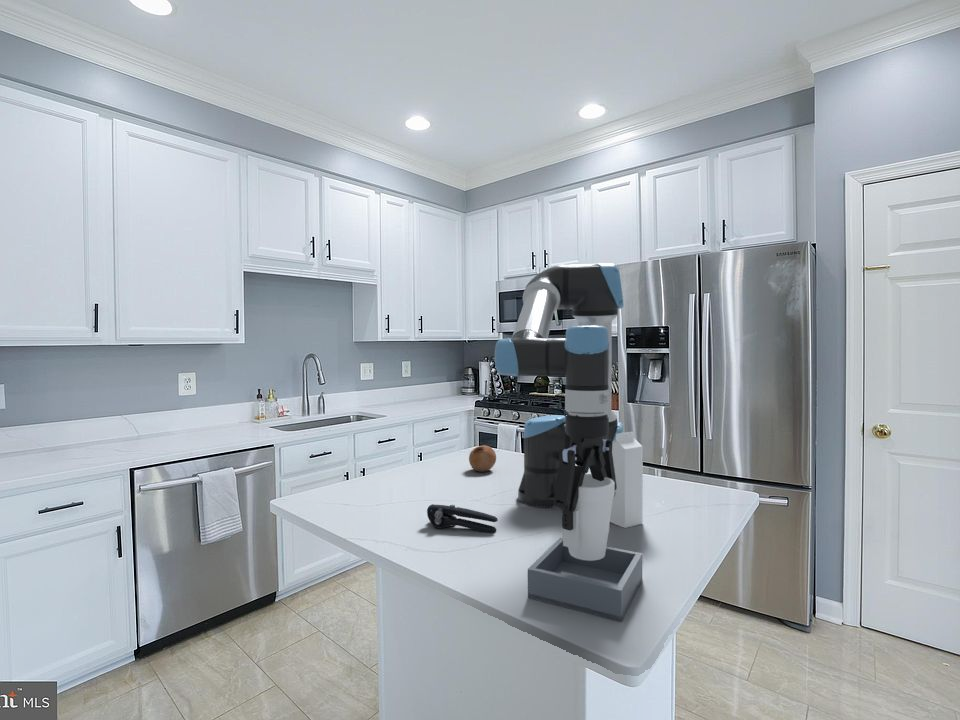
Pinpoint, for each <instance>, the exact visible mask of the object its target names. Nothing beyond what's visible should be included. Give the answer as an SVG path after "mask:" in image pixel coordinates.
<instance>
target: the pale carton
mask: <svg viewBox="0 0 960 720" xmlns="http://www.w3.org/2000/svg"><path fill="white" fill-rule="evenodd" d="M643 453H644V449H643V445H642V444H641V443H640V442H639V441H638V440H637V439H636V438H635V433H634V431H627V432H622V433H618V434H616V440H615V441H613V442H612V456H613V463H614V470H615V478H616V485H617V489H616V490H615V492H616V494H615V496H614V497H613V501H612V509H611V516H610V523H611V524H615V525H617V526H619V527H621V528H624V529H626V528H630V527H634V526H635V527H636V526H639V525H642V524H643V522H644V520H643V519H644V518H643V514H644V513H643V510H644V509H643V507H644V506H643V504H644V503H643V497H644V496H643V495H644V493H643V491H644V490H643V488H644V487H643V486H644V485H643V484H644V480H643V478H644V477H643V476H644V475H643V473H644V472H643V471H644V469H643V464H644V463H643V459H644V457H643V456H644V454H643Z"/></svg>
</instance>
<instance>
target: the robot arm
mask: <svg viewBox="0 0 960 720" xmlns="http://www.w3.org/2000/svg"><path fill="white" fill-rule="evenodd" d="M620 276H621V275H620V269H619V267H618V265H617V264H614V263H605V262H604V263H603V262H602V263H601V262H597V263H582V264H581V263H580V264H579V263H578V264H559V265H554V266H551V267H549V268H547V269H545V270H542V271H541V272H540V273H538V274H536V275H535V276H534V277H533V278H532V279H530V281H529V282H528V283H527V284H526V286H525V288H524V290H523V294H522V303H523V305H522V308H521V311H520V314H519V316H518V319H517V321H516V325H515V327H514V331H513V334H512V335H511V337H507V338H501V339H498V340H497V341H496V343H495V347H494V364H495V370H496V372H497V373H498V374H499V375H501V376H510V377H511V376H513V377H565V389H564V392H565V393H564V395H565V397H564V399H565V400H564V410H565V412H567V414H566V415H563V414H559V415H558V414H552V415H551V414H550V415H544V416H537V417H533V418H530V419H528V420H527V421H526V422H525V423H524V429H523V435H522V436H523V437H522V438H523V444H524V445H523V468H524V469H523V474H522V477H521V479H520V480H521V481H520V484H519V487H518V489H517V490H518V491H517V499H518V501H519V502H520V503H522V504H523V505H524V504H525V505H528V506H531V507H538V508H557V509H558V510H559V509H560V510H561V513H562V514H561V522H562V523H561V525H562V538H563V546H566V547H569V548H572V549H575V550H577V549H579V511H578V510H575V509H576V505H577V501H578V498H579V487H580V486H582V483H583V479H584V475H585V474H588V472H589V470H590V474H591V475H592V478H593V479H596V480H598V481H603V480H604V478H605V477H607V478H610V479H612V480H613V481H614V482H615V490H616V489H617V485H616V478H615V470H614V463H613V456H612V442H613V441H615V440H616V434H618V433H624V431H623V430H624V426H623V423H622V422H620V421H618V415H617V414H616V413H615V412H614V411H613V410H612V383H613V382H612V375H613V374H612V371H613V370H612V368H613V367H612V366H613V363H612V360H613V357H612V353H613V352H612V349H613V347H612V345H613V343H612V340H613V337H612V336H613V335H612V334H613V332H612V331H613V329H612V327H613V325H612V322H613V321H614V320H615V319H616V318H617V317H618V316H619V314H618V312H619V310H620V309H623V308H624V298H623V297H624V296H623V288H622V281H621V277H620ZM557 310H572V317H573V318H574V319H575V320H576V322H577V323H578V325H576V326H575V325H574V326H569V327H567V329H566V331H565V338H563V337H560V338H559V337H555V338H550V337H549V334H550V330H551V326H552V321H553V317H554V314H555V312H556V311H557ZM615 494H616V492H615ZM614 496H615V495H614ZM570 502H571V503H570ZM609 533H610V530H609V531H608V534H609Z"/></svg>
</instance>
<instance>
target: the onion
mask: <svg viewBox="0 0 960 720" xmlns="http://www.w3.org/2000/svg"><path fill="white" fill-rule="evenodd" d="M468 455H469V456H468V461H469V464H470V466H471V469H472V470H474V471H476V472H480V473H485V472H487V471H490V470H491V469H493V468H494V466H495V464H496V462H497V455H496V452H495V450H494V449H493V448H492V447H491V446H488V445H485V444H484V445H479V446H476V447H474V448H473V449H472V450H471V451H470V453H469V454H468Z"/></svg>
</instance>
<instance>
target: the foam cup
mask: <svg viewBox="0 0 960 720" xmlns="http://www.w3.org/2000/svg"><path fill="white" fill-rule="evenodd" d="M614 495H615V482H614V481H613V480H612V479H610V478H607V477H605V478H604V480H603V481H598V480H596V479H593V478H592V475H591V473H590V474H589V473H586V474H585V475H584V479H583V483H582V486H580V487H579V498H578V501H577V505H576V509H575V510H578V511H579V549H577V550H575V549H572V548H569V547H568V549H569V553H570V555H571V556H573V557H575V558H577V559H581V560H588V561H593V560H600V559H602V558H604V556H605V552H606V547H608V545H607V544H608V537H609V533H608V531H609V532H610V523H611V522H610V516H611V509H612V501H613V497H614ZM570 503H571V502H570Z"/></svg>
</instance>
